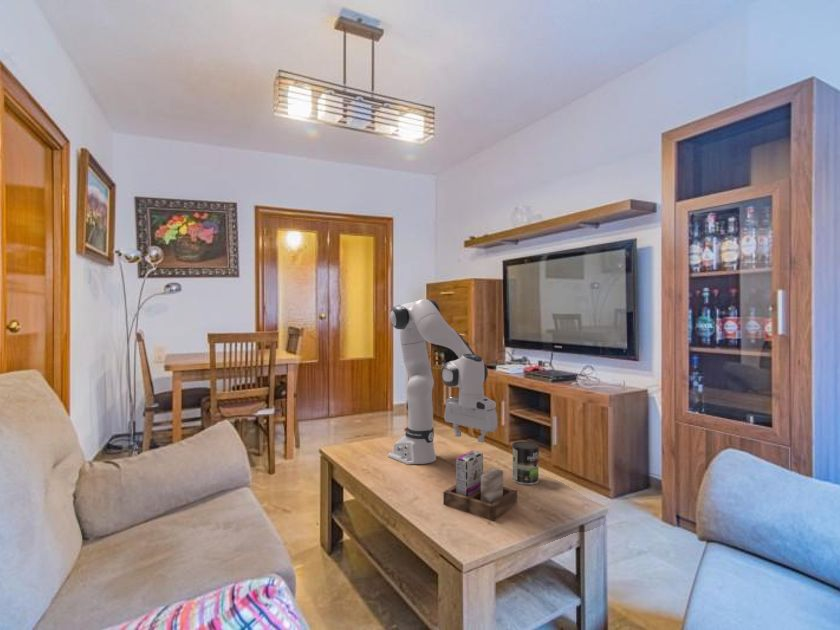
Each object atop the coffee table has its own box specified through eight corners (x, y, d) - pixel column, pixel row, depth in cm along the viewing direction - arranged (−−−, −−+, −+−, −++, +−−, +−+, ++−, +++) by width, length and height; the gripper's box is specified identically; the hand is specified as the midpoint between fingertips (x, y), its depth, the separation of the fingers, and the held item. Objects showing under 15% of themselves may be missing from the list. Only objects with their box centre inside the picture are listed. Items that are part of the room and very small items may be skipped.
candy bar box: (471, 493, 171) (472, 449, 171) (483, 497, 168) (483, 452, 168) (454, 504, 163) (455, 457, 162) (467, 508, 160) (467, 460, 159)
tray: (443, 504, 162) (443, 470, 162) (468, 489, 176) (468, 457, 175) (494, 520, 150) (494, 484, 150) (516, 503, 163) (517, 469, 163)
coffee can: (544, 481, 184) (544, 445, 183) (526, 487, 178) (526, 450, 177) (524, 473, 192) (524, 439, 192) (506, 478, 186) (506, 444, 186)
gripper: (441, 397, 169) (440, 434, 169) (491, 406, 156) (489, 447, 157) (451, 394, 174) (449, 431, 174) (500, 403, 161) (498, 443, 162)
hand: (469, 438), depth 165 cm, fingers open, 8 cm apart
